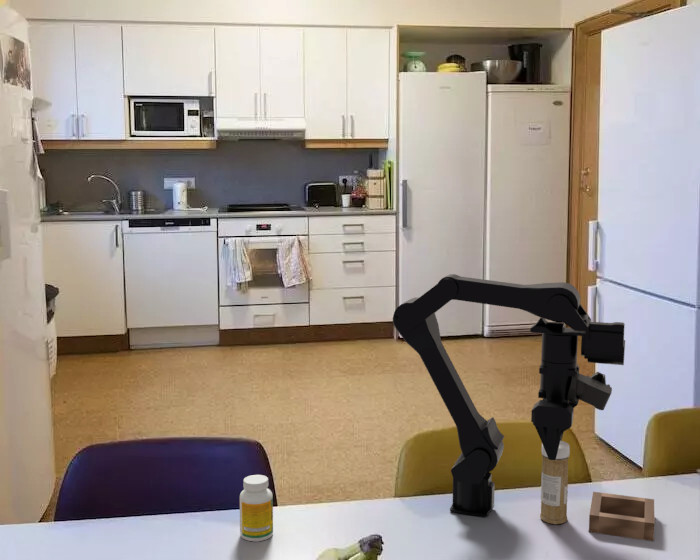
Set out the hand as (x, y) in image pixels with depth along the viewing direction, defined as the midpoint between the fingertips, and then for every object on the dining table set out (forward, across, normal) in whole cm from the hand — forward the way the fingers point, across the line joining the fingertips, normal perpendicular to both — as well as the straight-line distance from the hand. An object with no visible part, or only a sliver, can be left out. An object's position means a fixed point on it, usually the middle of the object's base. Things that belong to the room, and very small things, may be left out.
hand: (555, 450), depth 137 cm
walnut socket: (+12, +2, -11) cm, 17 cm away
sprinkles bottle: (+12, 0, 0) cm, 12 cm away
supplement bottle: (+13, -22, +45) cm, 52 cm away
